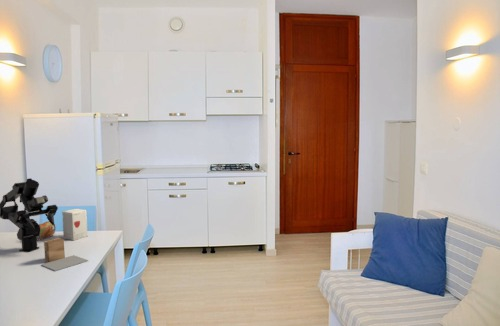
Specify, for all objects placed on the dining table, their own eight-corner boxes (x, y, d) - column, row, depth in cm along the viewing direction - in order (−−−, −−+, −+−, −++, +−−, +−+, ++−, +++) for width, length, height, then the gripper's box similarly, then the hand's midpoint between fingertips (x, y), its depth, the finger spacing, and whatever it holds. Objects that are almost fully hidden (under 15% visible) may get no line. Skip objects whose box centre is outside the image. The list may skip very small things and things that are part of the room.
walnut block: (45, 261, 180) (43, 241, 179) (60, 256, 185) (59, 237, 184) (49, 262, 177) (48, 243, 176) (64, 258, 183) (63, 239, 182)
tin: (37, 242, 209) (36, 226, 208) (31, 241, 209) (30, 226, 208) (56, 234, 223) (55, 219, 223) (51, 234, 224) (50, 219, 223)
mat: (41, 265, 174) (41, 264, 174) (73, 256, 186) (73, 255, 186) (55, 271, 167) (55, 270, 167) (88, 261, 179) (88, 260, 179)
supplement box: (73, 240, 210) (71, 213, 209) (63, 238, 215) (61, 211, 213) (88, 236, 218) (86, 209, 216) (78, 234, 223) (76, 208, 221)
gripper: (13, 194, 180) (28, 219, 174) (54, 188, 195) (68, 211, 190) (7, 210, 185) (21, 235, 179) (47, 203, 200) (61, 226, 195)
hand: (44, 226), depth 186 cm, fingers open, 9 cm apart
